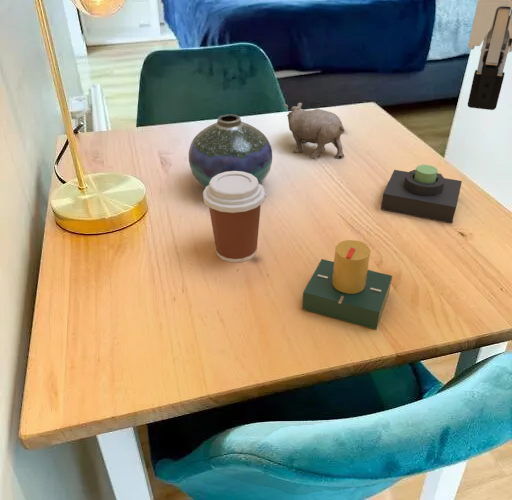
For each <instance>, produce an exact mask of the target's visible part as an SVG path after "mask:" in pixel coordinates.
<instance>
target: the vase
mask: <svg viewBox="0 0 512 500" xmlns="http://www.w3.org/2000/svg"><path fill="white" fill-rule="evenodd" d="M216 121H217V122H215V123H212V124H210V125H208V126H207V127H205V128H204V129H202V130H200V131H199V132H198V133H197V134H196V135H195V136H194V138H193V140H192V141H191V143H190V146H189V149H188V163H189V167H190V170H191V172H192V175H193V176H194V178H195V180H196V181H198V183H199V184H200V185H201V186H202V187H204V189H205V188H206V186H208V185H209V182H210V180H211V179H212V178H213V177H214V176H216V175H218V174H220V173H223V172H228V171H242V172H246V173H249V174H252V175H253V176H254V177H256V178H257V180H258V183H259V184H260V185H262V183H263V182H264V180H265V179H266V178H267V176H268V175H269V173H270V171H271V167H272V164H273V148H272V145H271V143H270V141H269V139H268V137H267V136H266V135H265V134H264V133H263V132H262V131H260V130H259V129H258V128H256V127H254V126H253V125H250V124H249V123H247V122H243V121H242V120H241V117H240V116H239V115H237V114H232V113H231V114H228V113H227V114H222V115H219V116H218V117H217V120H216Z"/></svg>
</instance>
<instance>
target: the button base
mask: <svg viewBox="0 0 512 500" xmlns="http://www.w3.org/2000/svg"><path fill="white" fill-rule="evenodd" d="M415 171H416V169H412V170H410V171H404V170H399V169H394V170H393V171H392V173H391V176H390V178H389V180H388V182H387V184H386V186H385V189H384V191H383V193H382V196H381V197H382V198H381V204H380V210H383V211H388V212H392V213H397V214H402V215H407V216H413V217H418V218H423V219H428V220H433V221H437V222H443V223H448V224H453V221H454V218H455V214H456V210H457V205H458V201H459V197H460V192H461V187H462V183H463V181H462V180H458V179H452V178H446V177H444V176H443V175H442V174H441V173H439V172H437V177H436V181H435V182H434V183H429V184H426V183H420V182H418V181H416V180H414V176H415Z"/></svg>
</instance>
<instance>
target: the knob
mask: <svg viewBox="0 0 512 500" xmlns="http://www.w3.org/2000/svg"><path fill="white" fill-rule="evenodd" d="M370 257H371V248H370V247H369V246H368V244H366V243H364V242H362V241H360V240H354V239H347V240H342V241H340V242H338V243H337V244H336V245H335V248H334V258H333V262H334V267H333V277H332V284H333V286H334V287H335V289H337V290H338V291H340V292H343V293H347V294H355V293H359V292H361V291H362V290H363V289H364V288H365V286H366V279H367V272H368V270H369V266H370Z"/></svg>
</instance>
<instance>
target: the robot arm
mask: <svg viewBox="0 0 512 500" xmlns="http://www.w3.org/2000/svg"><path fill="white" fill-rule="evenodd" d="M481 45H482V46H481ZM480 46H481V49H480V55H479V59H478V65H477V69H475V70H474V74H473V77H472V82H471V87H470V90H469V91H470V92H469V96H468V101H467V107H468V108H471V109H477V110H479V109H480V110H487V111H488V110H489V111H495V110H496V109H497V105H498V102H499V99H500V93H501V90H502V86H503V83H504V78H505V74H506V73H505V72H504V69H505V65H506V61H507V57H508V54H509V53H511V52H512V0H477V2H476V7H475V12H474V16H473V22H472V26H471V31H470V35H469V39H468V45H467V47H468V48H469V49H470V50H474V49H475V47H480Z"/></svg>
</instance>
